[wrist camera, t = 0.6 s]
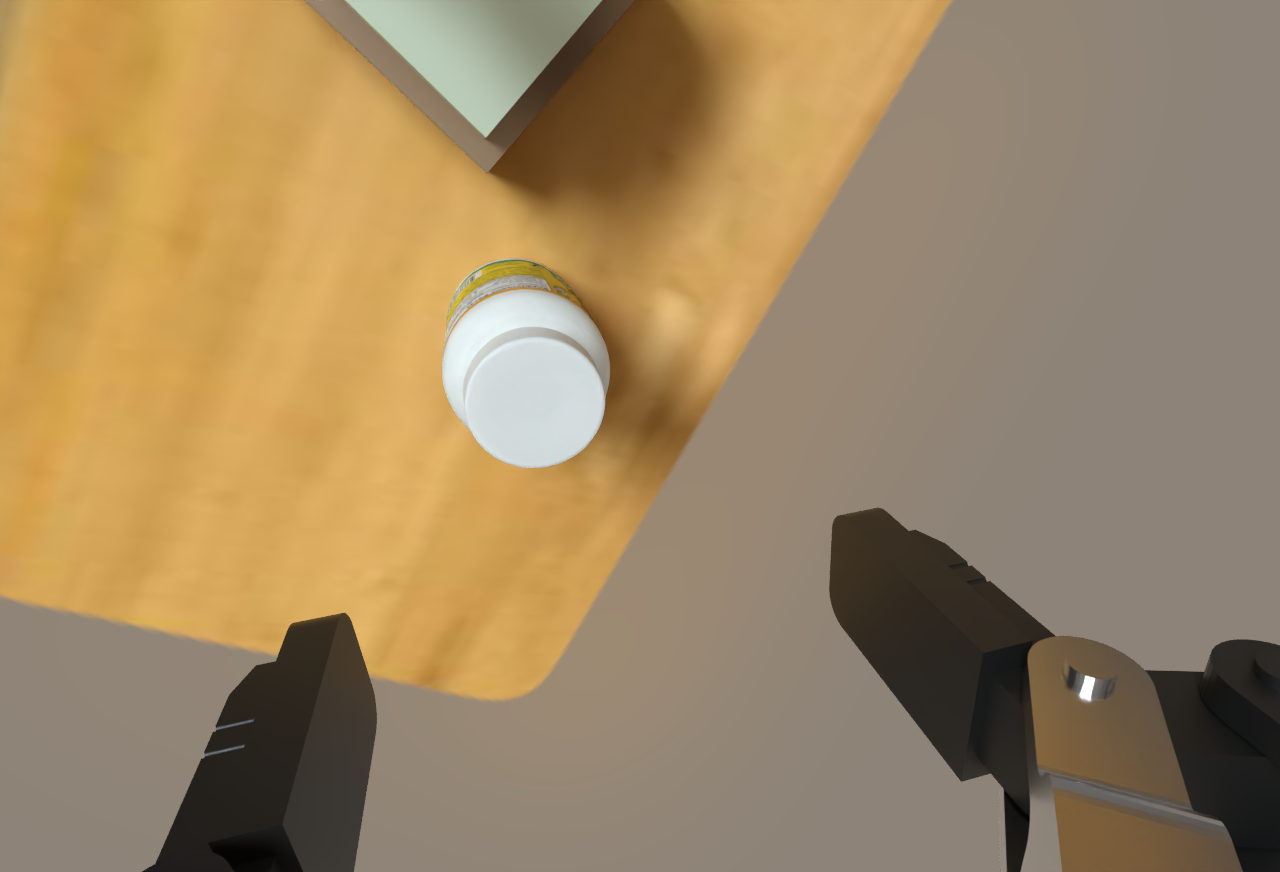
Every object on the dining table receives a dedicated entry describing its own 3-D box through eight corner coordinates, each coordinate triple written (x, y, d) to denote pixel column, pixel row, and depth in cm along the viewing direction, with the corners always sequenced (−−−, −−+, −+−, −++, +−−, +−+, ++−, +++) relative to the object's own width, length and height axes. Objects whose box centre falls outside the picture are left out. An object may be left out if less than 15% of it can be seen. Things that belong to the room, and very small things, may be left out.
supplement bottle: (435, 264, 26) (418, 323, 17) (572, 248, 27) (620, 297, 18) (461, 394, 28) (458, 504, 20) (587, 375, 29) (636, 472, 21)
